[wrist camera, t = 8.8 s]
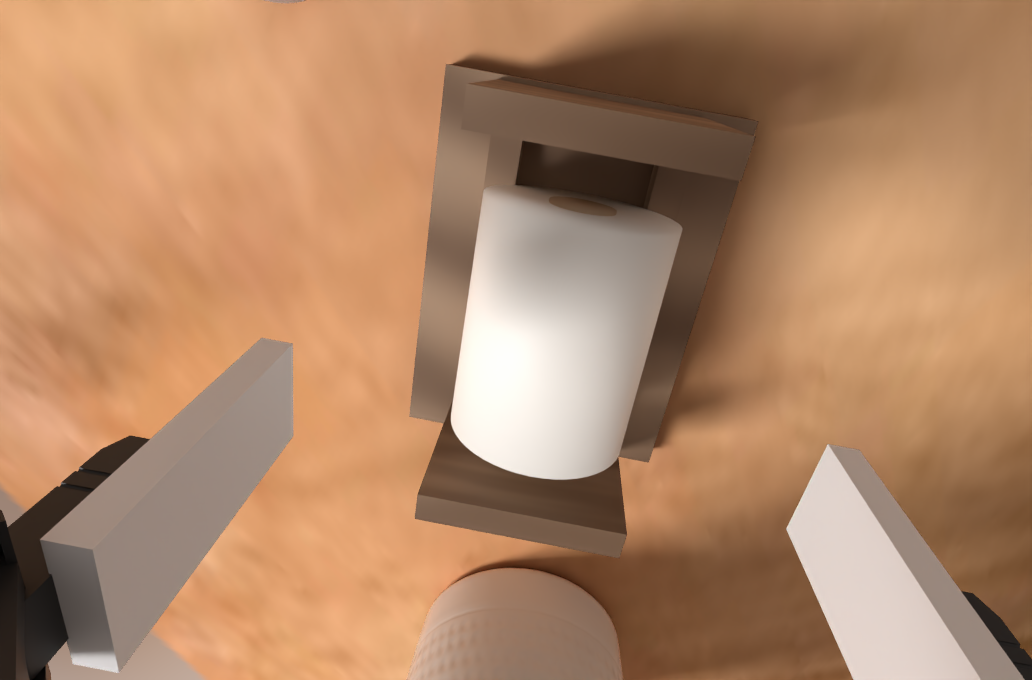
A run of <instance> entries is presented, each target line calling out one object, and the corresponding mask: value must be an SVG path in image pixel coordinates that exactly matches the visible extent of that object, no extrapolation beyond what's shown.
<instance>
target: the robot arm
mask: <svg viewBox="0 0 1032 680" xmlns="http://www.w3.org/2000/svg"><path fill="white" fill-rule="evenodd" d="M292 437H293V344H292V343H287V342H281V341H276V340H271V339H265V338H261V339H260V340H259V341H258V342H257V343H255V344H254V345H253V346H252V347H251V348H250V349H249V350H248V351H247V352H246V353H244V354H243V355H242V356H241V357H240V358H239V359H238V360H237V361H236V362H235V363H233V364H232V365H231V366H230V367H229V368H228V369H227V370H226V371H225V372H224V373H222V374H221V375H220V376H219V377H218V378H217V379H216V380H215V381H214V382H213V383H211V384H210V385H209V386H208V387H207V388H206V389H205V390H204V391H203V392H202V393H200V394H199V395H198V396H197V397H196V398H195V399H194V400H193V401H192V402H191V403H189V404H188V405H187V406H186V407H185V408H184V409H183V410H182V411H181V412H180V413H178V414H177V415H176V416H175V417H174V418H173V419H172V420H171V421H170V422H169V423H167V424H166V425H165V426H164V427H163V428H162V429H161V430H160V431H159V432H158V433H156V434H155V435H154V436H153V437H152V438H151V439H146V438H140V437H135V436H128V437H126V438H124V439H122V440H120V441H118V442H115V443H113V444H111V445H109V446H107V447H105V448H103V449H101V450H100V451H99V452H97V453H96V454H95V455H94V456H93V457H91V458H90V459H89V460H88V461H87V462H85V463H84V464H83V465H82V466H81V467H79V471H78V472H77V471H75V472H73V473H72V474H71V475H70V476H69V477H67V478H66V479H65V480H64V481H63V482H61V486H60V487H58V486H57V487H55V488H54V489H53V490H52V491H51V492H50V493H48V494H47V495H46V496H45V497H44V498H42V499H41V500H40V501H39V502H38V503H36V504H35V505H34V506H33V507H32V508H30V509H29V510H28V511H27V512H26V513H24V514H23V515H22V516H21V517H20V518H19V519H17V520H16V521H15V522H14V523H12V524H11V525H10V526H9V527H7V524H6V521H5V518H4V515H3V513H2V511H1V510H0V680H51V673H50V670H49V666H48V662H49V661H50V660H51V658H52V657H53V656H54V655H55V654H56V653H57V651H58V650H59V649H60V648H61V647H62V646H63V644H64V643H65V642H66V641H67V644H68V647H69V651H70V655H71V659H72V663H73V664H75V665H80V666H85V667H91V668H96V669H101V670H106V671H111V672H117V673H119V672H120V671H121V670H122V668H123V666H125V664H126V663H127V661H128V660H129V659H130V657H131V656H132V655H133V653H134V652H135V650H136V649H137V648H138V646H139V645H140V644H141V642H142V641H143V640H144V638H145V637H146V636H147V634H148V633H149V632H150V630H151V629H152V627H153V626H154V625H155V623H156V622H157V621H158V619H159V618H160V617H161V615H162V614H163V613H164V611H165V610H166V608H167V607H168V606H169V604H170V603H171V602H172V600H173V599H174V598H175V596H176V595H177V593H178V592H179V591H180V589H181V588H182V587H183V585H184V584H185V583H186V581H187V580H188V579H189V577H190V576H191V574H192V573H193V572H194V570H195V569H196V568H197V566H198V565H199V564H200V562H201V561H202V559H203V558H204V557H205V555H206V554H207V553H208V551H209V550H210V549H211V547H212V546H213V544H214V543H215V542H216V540H217V539H218V538H219V536H220V535H221V534H222V532H223V531H224V530H225V528H226V527H227V525H228V524H229V523H230V521H231V520H232V519H233V517H234V516H235V515H236V513H237V512H238V510H239V509H240V508H241V506H242V505H243V504H244V502H245V501H246V500H247V498H248V497H249V496H250V494H251V493H252V491H253V490H254V489H255V487H256V486H257V485H258V483H259V482H260V481H261V479H262V478H263V476H264V475H265V474H266V472H267V471H268V470H269V468H270V467H271V466H272V464H273V463H274V462H275V460H276V459H277V457H278V456H279V455H280V453H281V452H282V451H283V449H284V448H285V447H286V445H287V444H288V442H289V441H290V440H291V438H292ZM786 530H787V532H788V534H789V536H790V539H791V541H792V543H793V545H794V548H795V550H796V552H797V554H798V557H799V559H800V561H801V563H802V566H803V568H804V570H805V572H806V575H807V577H808V579H809V581H810V583H811V586H812V588H813V590H814V592H815V595H816V597H817V599H818V601H819V604H820V606H821V608H822V610H823V613H824V615H825V617H826V619H827V622H828V624H829V626H830V628H831V631H832V633H833V635H834V637H835V640H836V642H837V644H838V646H839V649H840V651H841V653H842V655H843V657H844V660H845V662H846V664H847V666H848V669H849V671H850V673H851V675H852V678H853V680H1032V659H1031V658H1030V657H1029V655H1028V654H1027V653H1026V651H1025V650H1024V649H1020V643H1019V642H1018V641H1017V639H1016V638H1015V637H1014V635H1013V634H1012V633H1011V632H1010V630H1009V629H1008V628H1007V626H1006V625H1005V624H1004V622H1003V621H1002V620H1001V618H1000V617H999V616H998V615H996V614H995V613H994V612H993V611H992V610H991V609H990V608H989V607H987V606H986V605H985V604H984V603H983V602H982V601H981V600H980V599H978V598H977V597H976V596H975V595H974V594H973V593H968V592H963V591H961V590H960V589H959V588H958V586H957V585H956V584H955V582H954V581H953V579H952V578H951V577H950V575H949V574H948V572H947V571H946V570H945V568H944V567H943V565H942V564H941V563H940V561H939V560H938V559H937V557H936V556H935V554H934V553H933V552H932V550H931V549H930V547H929V546H928V545H927V543H926V542H925V540H924V539H923V538H922V536H921V535H920V534H919V532H918V531H917V529H916V528H915V527H914V525H913V524H912V522H911V521H910V520H909V518H908V517H907V515H906V514H905V513H904V511H903V510H902V508H901V507H900V506H899V504H898V503H897V502H896V500H895V499H894V497H893V496H892V495H891V493H890V492H889V490H888V489H887V488H886V486H885V485H884V483H883V482H882V481H881V479H880V478H879V477H878V475H877V474H876V472H875V471H874V470H873V468H872V467H871V465H870V464H869V463H868V461H867V460H866V458H865V457H864V456H863V454H862V453H861V452H860V450H857V449H852V448H846V447H841V446H836V445H830V444H828V445H827V447H826V449H825V451H824V453H823V455H822V457H821V459H820V461H819V463H818V465H817V467H816V469H815V471H814V473H813V475H812V477H811V479H810V481H809V484H808V486H807V488H806V490H805V492H804V494H803V496H802V498H801V500H800V502H799V504H798V506H797V508H796V510H795V512H794V514H793V516H792V518H791V520H790V522H789V524H788V526H787V528H786Z"/></svg>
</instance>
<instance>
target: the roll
mask: <svg viewBox="0 0 1032 680" xmlns="http://www.w3.org/2000/svg"><path fill="white" fill-rule="evenodd" d="M682 229H683V228H682V226H681V225H680V224H679V223H677V222H675V221H674V220H672V219H670V218H668V217H666V216H663V215H661V214H658V213H656V212H653V211H650V210H647V209H644V208H641V207H638V206H634V205H631V204H627V203H624V202H620V201H616V200H612V199H608V198H603V197H599V196H594V195H589V194H584V193H579V192H573V191H567V190H561V189H554V188H546V187H537V186H526V185H495V186H490V187H487V188H485V189H484V191H483V198H482V205H481V211H480V218H479V225H478V232H477V239H476V246H475V253H474V260H473V267H472V273H471V280H470V287H469V294H468V301H467V308H466V315H465V322H464V328H463V335H462V342H461V349H460V356H459V363H458V370H457V377H456V383H455V390H454V397H453V404H452V411H451V424H452V428H453V430H454V432H455V434H456V436H457V437H458V438H459V440H460V441H461V442H462V443H463V444H464V445H465V446H466V447H467V448H468V449H469V450H470V451H472V452H473V453H474V454H476V455H477V456H479V457H480V458H482V459H483V460H485V461H487V462H489V463H491V464H493V465H495V466H498V467H500V468H503V469H505V470H508V471H511V472H514V473H517V474H522V475H526V476H530V477H536V478H542V479H555V480H567V479H578V478H583V477H588V476H591V475H594V474H598V473H600V472H602V471H604V470H606V469H607V468H608V467H610V466H611V465H612V464H613V463H614V462H615V461H616V460H617V458H618V456H619V454H620V450H621V447H622V443H623V439H624V436H625V432H626V429H627V425H628V422H629V418H630V414H631V411H632V407H633V404H634V400H635V397H636V393H637V390H638V386H639V382H640V379H641V375H642V372H643V368H644V365H645V361H646V357H647V354H648V350H649V347H650V343H651V340H652V336H653V333H654V329H655V325H656V322H657V318H658V315H659V311H660V308H661V304H662V300H663V297H664V293H665V290H666V286H667V283H668V279H669V275H670V272H671V268H672V265H673V261H674V258H675V254H676V251H677V247H678V243H679V240H680V236H681V233H682Z"/></svg>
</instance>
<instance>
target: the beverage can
mask: <svg viewBox="0 0 1032 680" xmlns="http://www.w3.org/2000/svg"><path fill="white" fill-rule="evenodd" d="M265 1H270V2H275V3H297V2H301V1H305V0H265Z"/></svg>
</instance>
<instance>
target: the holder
mask: <svg viewBox="0 0 1032 680" xmlns="http://www.w3.org/2000/svg"><path fill="white" fill-rule="evenodd" d="M757 124H758V121H755V120H751V119H746V118H740V117H735V116H729V115H724V114H719V113H713V112H708V111H702V110H697V109H691V108H686V107H680V106H675V105H670V104H664V103H659V102H653V101H648V100H642V99H637V98H631V97H626V96H621V95H615V94H610V93H604V92H599V91H593V90H588V89H582V88H577V87H572V86H566V85H561V84H555V83H550V82H544V81H539V80H533V79H528V78H522V77H517V76H512V75H506V74H501V73H495V72H490V71H484V70H479V69H473V68H468V67H463V66H457V65H452V64H446V69H445V79H444V88H443V98H442V108H441V117H440V127H439V137H438V146H437V156H436V165H435V175H434V185H433V194H432V204H431V214H430V223H429V233H428V242H427V252H426V262H425V271H424V281H423V291H422V300H421V310H420V319H419V329H418V339H417V348H416V358H415V368H414V377H413V387H412V396H411V406H410V416H409V417H414V418H419V419H424V420H430V421H435V422H440V423H444V424H443V427H442V430H441V433H440V435H439V438H438V441H437V443H436V446H435V449H434V452H433V454H432V457H431V460H430V462H429V465H428V468H427V471H426V473H425V476H424V479H423V481H422V484H421V487H420V489H419V492H418V496H417V504H416V513H415V519H419V520H424V521H429V522H434V523H439V524H445V525H450V526H455V527H460V528H465V529H470V530H476V531H481V532H486V533H491V534H496V535H501V536H507V537H512V538H517V539H522V540H527V541H532V542H538V543H543V544H548V545H553V546H558V547H563V548H569V549H574V550H579V551H584V552H589V553H594V554H600V555H605V556H610V557H615V558H620V555H621V551H622V548H623V545H624V542H625V539H626V536H627V531H626V522H625V513H624V505H623V496H622V487H621V478H620V469H619V460H618V458H617V460H616V461H615V462H614V463H613V464H612V465H611V466H610V467H608V468H607V469H606V470H604V471H602V472H600V473H598V474H594V475H591V476H588V477H583V478H578V479H567V480H555V479H542V478H536V477H530V476H526V475H522V474H517V473H514V472H511V471H508V470H505V469H503V468H500V467H498V466H495V465H493V464H491V463H489V462H487V461H485V460H483V459H482V458H480V457H479V456H477V455H476V454H474V453H473V452H472V451H470V450H469V449H468V448H467V447H466V446H465V445H464V444H463V443H462V442H461V441H460V440H459V438H458V437H457V436H456V434H455V432H454V430H453V428H452V424H451V411H452V404H453V397H454V390H455V383H456V377H457V370H458V363H459V356H460V349H461V342H462V335H463V328H464V322H465V315H466V308H467V301H468V294H469V287H470V280H471V273H472V267H473V260H474V253H475V246H476V239H477V232H478V225H479V218H480V211H481V205H482V198H483V191H484V189H485V188H487V187H490V186H495V185H526V186H537V187H546V188H554V189H561V190H567V191H573V192H579V193H584V194H589V195H594V196H599V197H603V198H608V199H612V200H616V201H620V202H624V203H627V204H631V205H634V206H638V207H641V208H644V209H647V210H650V211H653V212H656V213H658V214H661V215H663V216H666V217H668V218H670V219H672V220H674V221H675V222H677V223H679V224H680V225H681V226H682V228H683V229H682V233H681V236H680V240H679V243H678V247H677V251H676V254H675V258H674V261H673V265H672V268H671V272H670V275H669V279H668V283H667V286H666V290H665V293H664V297H663V300H662V304H661V308H660V311H659V315H658V318H657V322H656V325H655V329H654V333H653V336H652V340H651V343H650V347H649V350H648V354H647V357H646V361H645V365H644V368H643V372H642V375H641V379H640V382H639V386H638V390H637V393H636V397H635V400H634V404H633V407H632V411H631V414H630V418H629V422H628V425H627V429H626V432H625V436H624V439H623V443H622V447H621V450H620V454H619V456H618V457H623V458H628V459H633V460H639V461H644V462H649V460H650V457H651V454H652V451H653V447H654V444H655V441H656V438H657V435H658V432H659V429H660V426H661V423H662V420H663V416H664V413H665V410H666V407H667V404H668V401H669V398H670V395H671V392H672V388H673V385H674V382H675V379H676V376H677V373H678V370H679V367H680V364H681V360H682V357H683V354H684V351H685V348H686V345H687V342H688V339H689V336H690V333H691V329H692V326H693V323H694V320H695V317H696V314H697V311H698V308H699V305H700V301H701V298H702V295H703V292H704V289H705V286H706V283H707V280H708V277H709V273H710V270H711V267H712V264H713V261H714V258H715V255H716V252H717V249H718V245H719V242H720V239H721V236H722V233H723V230H724V227H725V224H726V221H727V218H728V214H729V211H730V208H731V205H732V202H733V199H734V196H735V193H736V190H737V186H738V183H739V181H741V180H742V177H743V174H744V171H745V168H746V165H747V162H748V159H749V155H750V152H751V149H752V146H753V143H754V140H755V136H754V134H755V130H756V127H757Z"/></svg>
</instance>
